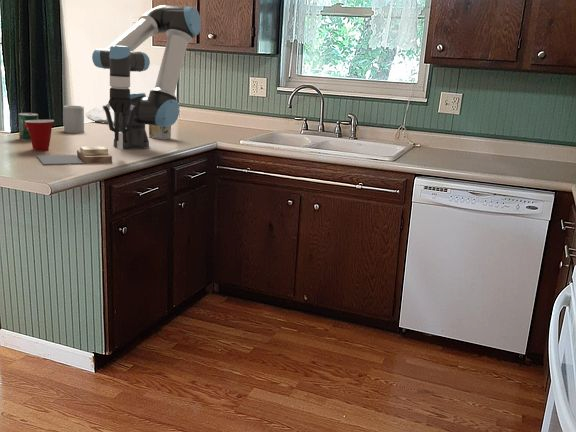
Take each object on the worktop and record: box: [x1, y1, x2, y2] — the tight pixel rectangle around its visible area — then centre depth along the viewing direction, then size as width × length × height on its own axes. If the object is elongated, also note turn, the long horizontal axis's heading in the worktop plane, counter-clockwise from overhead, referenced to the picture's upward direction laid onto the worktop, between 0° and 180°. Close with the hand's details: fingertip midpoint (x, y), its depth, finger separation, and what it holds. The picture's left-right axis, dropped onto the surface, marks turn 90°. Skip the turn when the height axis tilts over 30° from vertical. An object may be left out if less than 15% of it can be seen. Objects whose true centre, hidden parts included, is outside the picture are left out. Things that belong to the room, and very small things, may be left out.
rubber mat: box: [36, 154, 85, 166], centre depth 225 cm, size 14×16×1 cm
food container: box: [85, 107, 114, 124], centre depth 328 cm, size 12×30×6 cm, turn 58°
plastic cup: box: [25, 119, 55, 152], centre depth 241 cm, size 11×11×12 cm
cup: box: [63, 105, 85, 134], centre depth 291 cm, size 9×9×12 cm
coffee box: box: [148, 125, 172, 140], centre depth 291 cm, size 9×6×16 cm
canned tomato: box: [17, 112, 39, 142], centre depth 261 cm, size 8×8×11 cm
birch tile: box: [79, 145, 109, 155], centre depth 230 cm, size 9×6×2 cm, turn 120°
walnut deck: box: [76, 149, 113, 165], centre depth 231 cm, size 10×14×2 cm
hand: (119, 149), depth 235 cm, fingers closed
